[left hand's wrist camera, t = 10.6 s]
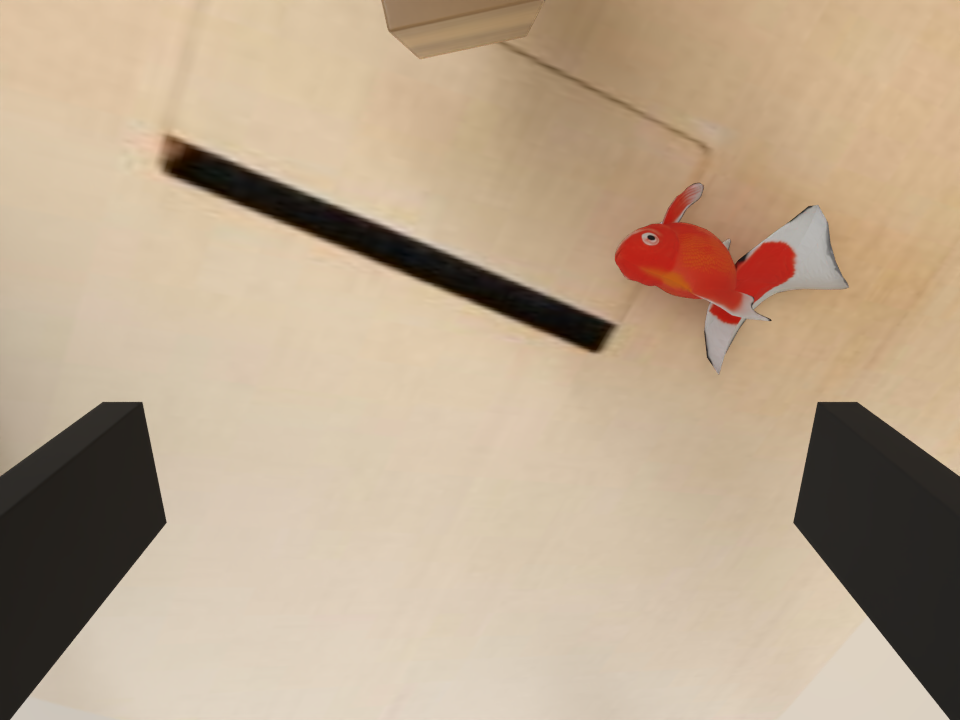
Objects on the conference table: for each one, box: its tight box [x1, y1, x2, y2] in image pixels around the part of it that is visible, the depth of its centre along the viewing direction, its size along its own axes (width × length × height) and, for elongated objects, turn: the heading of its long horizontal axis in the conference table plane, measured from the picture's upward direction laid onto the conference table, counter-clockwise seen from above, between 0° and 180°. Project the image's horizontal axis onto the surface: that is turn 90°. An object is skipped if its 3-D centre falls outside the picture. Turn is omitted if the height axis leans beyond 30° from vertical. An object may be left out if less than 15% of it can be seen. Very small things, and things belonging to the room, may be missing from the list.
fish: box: [615, 183, 849, 374], centre depth 39 cm, size 11×16×10 cm
